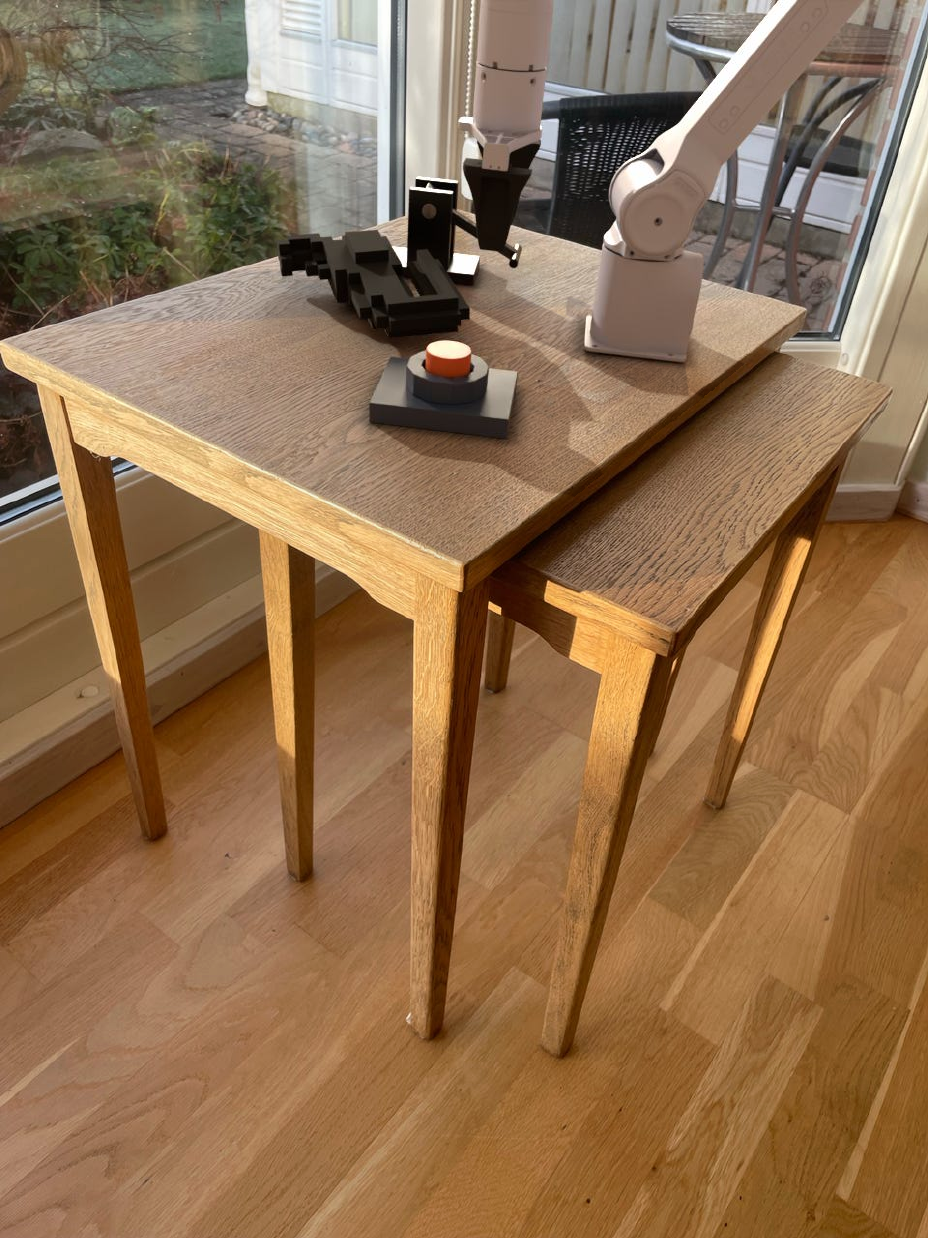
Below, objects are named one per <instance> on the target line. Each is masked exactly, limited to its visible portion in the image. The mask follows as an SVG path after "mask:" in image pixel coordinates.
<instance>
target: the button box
mask: <svg viewBox="0 0 928 1238" xmlns="http://www.w3.org/2000/svg"><path fill="white" fill-rule="evenodd" d="M518 376H519V371H516V370H508V369H507V370H506V369H499V368H491V367H490V365H489V364H488V363H487V362H485V360H484V359H483V358H482V357H480V356H477V355H476V354H473V353H471V366H470V373H469V374H468V375H466V376H462V377H453V378H450V377H442V376H436V375H434V374H431V373H429V372H427V371H426V350H422V351H420V352H418V353H415V354H413V355H411V356H410V357H409V358H407V357H406V358H405V357H399V356H398V357H397V356H389V359H388V361H387V363H386V365H385V368H384V370H383V372H382V374H381V376H380V379H379V380H378V383H377V385H376V387H375V389H374V392H373V394H372V396H371V398H370V401H369V406H368V407H369V408H368V409H369V410H368V411H369V412H368V413H369V414H368V415H369V416H368V417H369V418H368V421H369V423H373V424H381V425H390V426H396V427H397V426H399V427H406V428H412V429H413V428H414V429H421V430H431V431H438V432H439V431H440V432H447V433H456V434H463V435H470V436H471V435H472V436H479V437H486V438H487V437H489V438H497V439H503V440H507V439H508V434H509V430H510V426H511V425H510V423H511V419H512V414H513V409H514V404H515V398H516V394H517V385H518Z"/></svg>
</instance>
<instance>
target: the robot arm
mask: <svg viewBox="0 0 928 1238" xmlns="http://www.w3.org/2000/svg"><path fill="white" fill-rule="evenodd" d="M865 1H866V0H778V1H777V2H776V3H775V4H774V6H773V7H772V8H771V9H770V11H769V12H768V13H767V14H766V15H765V17H764V18H763V19H762V21H760V23H758V25H757V26H756V28H755V29H754V31H752V32H751V34H750V35H749V37H748V38H746V40H745V41H744V43H743V44H742V45H741V46H740V47H739V49H738V50H737V51H736V52H735V54H734V55H732V57H731V58H730V60H729V61H728V62H727V63H726V64H725V66H724V67H723V68H722V70H721V71H720V72H719V73H718V74H717V76H716V77H715V78H714V79H713V81H712V82H711V83H710V84H709V85H708V87H707V88H706V89H705V90H704V91H703V93H702V94H701V96H700V97H699V98H698V99H697V100H696V101H695V102H694V103H693V105H692V106H691V107H690V109H689V110H688V111H687V112H686V114H685V115H684V116H683V117H682V118H681V120H680V121H679V122H678V123H677V124H676V125H674V126H673V127H671V128H670V129H668V130H666V131H665V132H663V133H662V134H660V135H658V137H656V139H655V140H654V141H653V142H652V144H651V145H650V146H649V147H648V148H647V149H646V150H645V151H644V152H641V154H639V155H636V156H635V157H632V158H630V159H628V160H627V161H626V162H624V163H623V164H622V165H621V166H620V167H619V168H618V169H617V170H616V172H615V173H614V175H613V177H612V178H611V181H610V184H609V189H608V202H609V206H610V209H611V211H612V213H613V215H614V216H615V217H616V218H615V221H614V222H613V223H612V225H611V227H610V228H609V230H608V231H606V233H605V234H604V236H603V243H602V245H601V246H602V247H601V252H600V253H601V254H600V260H599V267H598V273H597V280H596V286H595V293H594V299H593V306H592V311H591V315H587V316H586V317H585V324H584V325H585V326H584V336H583V337H584V338H583V350H584V351H585V352H589V353H599V354H606V355H607V354H608V355H616V356H625V357H633V358H642V359H648V360H649V359H650V360H659V361H666V362H667V361H668V362H675V363H684V362H686V361H687V353H688V347H689V343H690V339H691V335H692V332H693V328H694V323H695V316H696V311H697V307H698V303H699V298H700V294H701V288H702V281H703V274H704V262H705V260H704V254H703V253H700V252H694V251H689V250H686V249H685V243H686V242H687V241H688V239H689V237H690V236H691V233H692V231H693V228H694V226H695V222H696V219H697V216H698V214H699V212H700V211H701V209H702V208H703V206H704V205H705V204H706V203H707V201H708V200H709V199H710V198H711V197H712V195H713V193H714V190H715V187H716V184H717V181H718V177H719V175H720V172H721V169H722V167H723V165H725V164H726V163H727V161H728V160H729V159H730V158H731V156H732V155H733V154H734V153H735V152H736V150H738V148H739V147H740V146H741V145H742V144H743V143H744V141H745V140H746V139H747V138H748V137H749V135H750V134H751V133H752V132H753V131H754V129H755V128H756V127H757V126H759V124H760V123H761V122H762V121H763V119H764V118H765V117H766V116H767V115H768V113H770V111H771V110H772V109H773V108H774V107H775V105H777V103H778V102H779V101H780V100H781V98H782V97H783V96H784V95H785V94H786V92H787V91H788V90H789V89H790V88H791V87H792V86H793V85H794V83H795V82H796V81H797V80H798V79H799V78H800V76H801V75H802V74H803V73H804V72H805V70H807V68H809V66H810V65H811V64H812V63H813V61H815V59H816V58H817V57H818V56H819V55H820V53H821V52H822V51H823V50H824V49H825V47H826V46H827V45H828V44H829V43H830V42H831V41H832V39H833V38H834V37H835V36H836V35H837V34H838V33H839V31H840V30H841V29H842V28H843V26H845V24H846V23H847V22H848V21H849V20H850V18H851V17H852V16H853V15H854V14H855V13H856V12H857V10H858V9H859V8H860V7H861V6H862V5H863V3H864V2H865ZM553 12H554V1H553V0H480V11H479V23H478V36H477V37H478V38H477V51H476V66H475V67H476V69H475V79H474V80H475V81H474V96H473V109H472V117H468V116H462V117H460V118H459V119H458V122H457V130H459V131H462V132H469V133H470V134H471V135H472V136H473V137H474V139H475V140H476V143H477V147H478V149H479V153H480V155H481V159H480V158H471V157H465V158H464V161H463V163H462V172H463V176H464V178H465V180H466V182H467V185H468V188H469V191H470V195H471V199H472V203H473V209H474V218H475V223H476V229H477V238H478V239H477V238H476V239H477V243H478V248H479V250H482V251H488V252H489V251H490V252H497V253H498V252H503V249H504V247H505V244H506V243H507V241H508V238H509V234H510V230H511V226H512V225H513V222H514V220H515V217H516V214H517V210H518V208H519V203H520V199H521V195H522V192H523V190H524V188H525V187H526V186H527V184H528V181H529V180H530V178H531V176H532V174H533V169H532V168H530V167H531V165H532V163H533V161H534V159H535V157H536V155H537V154H538V152H539V150H540V149H541V146H542V140H541V139H542V136H543V126H542V125H541V123H542V116H543V115H542V114H543V106H544V97H545V88H546V77H547V67H548V59H549V51H550V40H551V32H552V22H553Z"/></svg>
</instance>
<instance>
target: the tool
mask: <svg viewBox="0 0 928 1238" xmlns="http://www.w3.org/2000/svg"><path fill="white" fill-rule="evenodd" d="M392 246H393V245H392V244H391V242H390V240H389V238H388V237H387V236H386V235H381V233H380V231H379V230H378V229H370V230H357V231H345V232H344V234H343V235H341V239H333V236H332V235H331V236H329V235H328V236H321V234H320V233H317V232H316V233H303V234H292V235H291V234H290V235H286V239H279V240H277V248H276V249H277V257H278V261H279V269H280V275H281V277H293V276H294V273H293V272H304V271H305V274H306V277H307V278H309V277H318V279H319V280H320V281H325V280H327V282H328V284H329V287H330V289H331V292H332V294H333V296H334V299H335V301H336V303H337V304H342V303H343V304H344V303H348V305H349V307H350V308H351V307H352V308H353V307H354V308H355V311H356V313H357V315H358V318H359V320H367V321H368V324H369V325H370V327H371V330H372V331H374V330H384V331H385V334H386V336H387V338H388V339H401V338H410V337H420V336H429V335H438V334H439V335H440V334H450V333H458V332H459V327H460V326H462V321H469V320H470V319H471V318H470V317H471V307H470V306H469V304H468V303H467V301H466V299H465V298H464V297H463V295H462V294H461V292H460V290H459V289H458V288H457V286H456V284H454V283H453V281H452V280H451V278H450V277H449V275H448V274H447V272H446V271H445V269H444V268H443V266H442V264H441V263H440V261H439V260H438V259H435V260H434V259H433V257H432V255H431V254H430V252H429V251H428V249H424V250H417V261H411V262H406V273H407V274H408V276H409V278H410V279H409V280H410V282H411V283H412V285H413V287H414V288H415V291H416V292H417V293H418V295H417V296H415V295H414V293H413V291H412V289H411V288H410V285H409V284H408V282H407V280H406V278H404V277H403V266H402V263H401V261H400V259H399V257H398V256H397V254H396V252H395V250H394V249H393V247H394V246H393V247H392Z"/></svg>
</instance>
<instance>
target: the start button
mask: <svg viewBox="0 0 928 1238" xmlns="http://www.w3.org/2000/svg"><path fill="white" fill-rule="evenodd" d="M425 351H426V371H427V372H429V373H431V374H434V375H436V376H442V377H450V378H453V377H462V376H466V375H468V374H469V373H470V366H471V354H473V353H472V348H470V347H469V346H468V345H467V344H465V343H463V342H459V341H454V340H438V341H434V342H431V343H429V344H428V345H427V346H426V349H425Z"/></svg>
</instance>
